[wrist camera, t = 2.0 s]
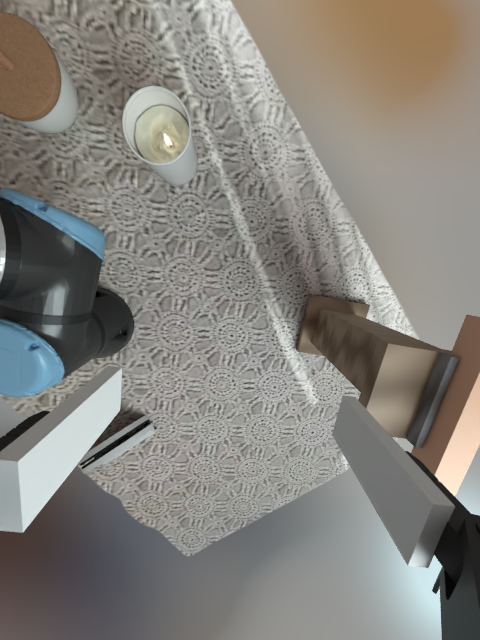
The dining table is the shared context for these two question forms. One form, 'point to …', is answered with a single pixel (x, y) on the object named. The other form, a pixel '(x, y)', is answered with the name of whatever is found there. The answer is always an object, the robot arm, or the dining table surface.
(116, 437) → the grey napkin holder
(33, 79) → the lidded bowl
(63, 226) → the robot arm
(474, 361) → the bar
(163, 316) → the dining table surface
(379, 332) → the wooden post with band
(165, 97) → the candle holder
